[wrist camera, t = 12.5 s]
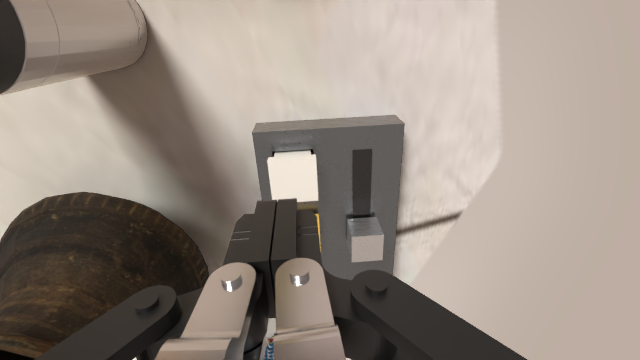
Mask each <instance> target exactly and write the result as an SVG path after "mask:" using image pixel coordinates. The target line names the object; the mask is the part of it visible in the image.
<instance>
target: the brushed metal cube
mask: <svg viewBox="0 0 640 360" xmlns="http://www.w3.org/2000/svg"><path fill="white" fill-rule="evenodd" d="M347 244H348V249H349V253H350V257H351V262H364V261H378V260H383V244H384V233H383V231H382V229H381V226H380V224H379V221H378V219H377V217H368V218H354V219H347Z"/></svg>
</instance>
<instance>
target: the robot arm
mask: <svg viewBox="0 0 640 360" xmlns="http://www.w3.org/2000/svg"><path fill="white" fill-rule="evenodd" d="M146 43H147V26H146V21H145V18H144V16H143V13H142V11H141V9H140V7H139V5H138V4H137V2H136V1H135V0H0V95H4V94H8V93H13V92H17V91H22V90H26V89H30V88H34V87H38V86H43V85H47V84H52V83H56V82H61V81H65V80H70V79H74V78H79V77H83V76H88V75H93V74H97V73H102V72H107V71H111V70H116V69H120V68H124V67H127V66H130V65H131V64H133V63H135V62H136V61H137V60H138V59H139V58H140V57H141V55H142V54H143V52H144V50H145V47H146ZM268 318H276V333H275V334H274V360H346V358H350V359H351V360H527V359H525V358H524V357H522V356H521V355H519V354H517V353H516V352H514V351H513V350H511V349H510V348H508V347H506V346H504V345H503V344H502V343H500V342H498V341H497V340H495V339H494V338H492V337H490V336H489V335H487V334H486V333H484V332H482V331H481V330H479V329H477V328H476V327H474V326H473V325H471V324H470V323H468V322H466V321H465V320H463V319H462V318H460V317H458V316H457V315H455V314H453V313H452V312H450V311H449V310H447V309H446V308H444V307H442V306H441V305H439V304H438V303H436V302H434V301H433V300H431V299H430V298H428V297H426V296H425V295H423V294H422V293H420V292H418V291H417V290H415V289H414V288H412V287H410V286H409V285H407V284H406V283H404V282H402V281H401V280H399V279H398V278H396V277H394V276H393V275H391V274H389V273H387V272H385V271H381V270H366V271H363V272H360V273H359V274H357V275H356V276H355V277H354V278H353V279H352V280H347V279H342V278H338V277H335V276H333V275H331V274H330V273H328V272H327V271H326V270H325V268H324V267H323V265H322V261H321V252H320V242H319V232H318V222H317V216H316V215H315V214H314V213H313V212H312V211H311V210H301V211H298V206H297V198H292V199H278V202H277V200H263V201H257V205H256V210H255V214H244V215H243V216H242V217H241V218H240V219H239V220H238V221H237V222H236V226H235V229H234V233H233V235H232V238H231V241H230V245H229V248H228V251H227V254H226V257H225V260H224V263H223V266H222V267H220V268H218V269H217V270H215V271H214V272H213V273H212V274H211V275H210V276H209V278H208V280H207V282H206V284H205V286H204V287H202V288H200V289H198V290H195V291H192V292H188V293H185V294H182V295H179V296H176V293H175V291H174V290H173V289H172V288H171V287H169V286H164V285H157V286H152V287H148V288H145V289H143V290H141V291H139V292H137V293H135V294H134V295H132V296H131V297H129V298H128V299H126V300H125V301H123V302H121V303H120V304H118V305H117V306H115V307H114V308H112V309H111V310H109V311H108V312H106V313H105V314H103V315H102V316H100V317H99V318H97V319H95V320H94V321H92V322H91V323H89V324H88V325H86V326H85V327H83V328H82V329H80V330H79V331H77V332H76V333H74V334H72V335H71V336H69V337H68V338H66V339H65V340H63V341H62V342H60V343H59V344H57V345H56V346H54V347H53V348H51V349H50V350H48V351H46V352H45V353H43V354H42V355H40V356H39V357H37V358H36V359H34V360H132V359H134V358H135V357H136V358H137V360H264V356H265V350H266V345H267V335H266V332H267V326H268ZM345 357H346V358H345Z"/></svg>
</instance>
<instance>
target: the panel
mask: <svg viewBox="0 0 640 360" xmlns="http://www.w3.org/2000/svg"><path fill="white" fill-rule="evenodd" d="M404 124H405V123H403V122H402V121H401V120H400V119H399V118H398V117H397V116H396V115H388V116H371V117H354V118H337V119H320V120H303V121H286V122H269V123H256V125H255V127H254V130H253V132H252V135H253V142H254V149H255V156H256V163H257V169H258V176H259V183H260V190H261V197H262V201H263V200H272V195H271V187H270V179H269V171H268V164H267V160H268V157H274V154H275V151H291V150H307V149H313V155H314V154H316V164H317V183H318V201H306V202H297V206H298V211H301V210H311V211H312V212H313V213H314V212H316V214H319V228H320V247H321V261H322V265H323V267H324V268H325V270H326V271H327V272H328V273H330V274H331V275H333V276H335V277H338V278H342V279H347V280H352V279H353V278H354V277H355V276H356V275H357V274H359V273H360V272H363V271H366V270H381V271H385V272H387V273H389V274H391V275H393V263H394V250H395V238H396V225H397V212H398V200H399V187H400V175H401V162H402V149H403V137H404ZM368 217H377V219H378V221H379V224H380V226H381V229H382V231H383V233H384V244H383V260H378V261H364V262H351V257H350V253H349V249H348V244H347V219H354V218H368Z"/></svg>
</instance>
